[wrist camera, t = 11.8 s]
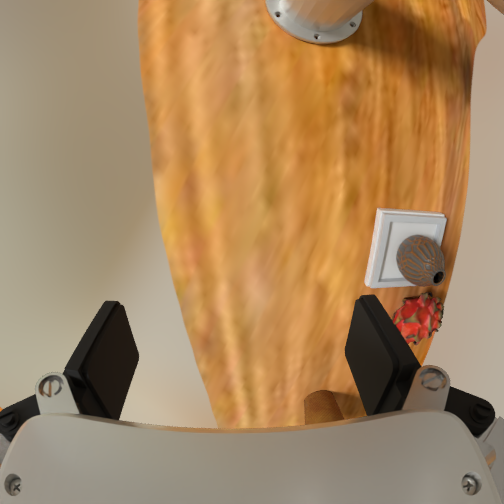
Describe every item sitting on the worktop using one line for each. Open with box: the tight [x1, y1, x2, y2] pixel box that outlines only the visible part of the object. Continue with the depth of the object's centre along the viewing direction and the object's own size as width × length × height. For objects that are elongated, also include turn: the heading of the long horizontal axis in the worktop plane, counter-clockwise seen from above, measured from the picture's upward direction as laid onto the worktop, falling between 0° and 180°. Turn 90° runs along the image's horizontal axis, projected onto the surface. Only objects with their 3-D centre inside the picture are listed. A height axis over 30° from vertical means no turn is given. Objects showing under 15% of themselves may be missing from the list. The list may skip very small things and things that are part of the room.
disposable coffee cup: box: [304, 391, 344, 425], centre depth 50 cm, size 10×10×12 cm
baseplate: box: [364, 208, 447, 288], centre depth 40 cm, size 12×12×2 cm
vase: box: [396, 235, 446, 286], centre depth 36 cm, size 7×7×9 cm
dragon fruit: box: [392, 292, 444, 345], centre depth 43 cm, size 8×8×12 cm
